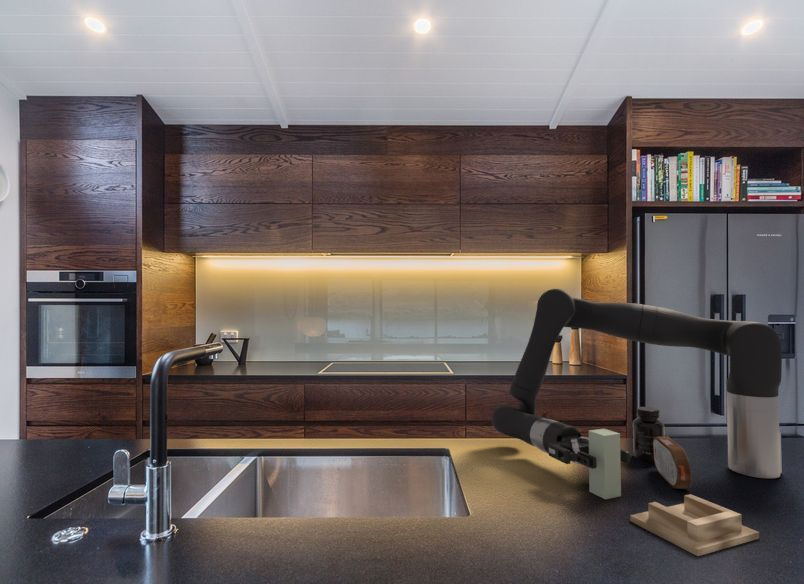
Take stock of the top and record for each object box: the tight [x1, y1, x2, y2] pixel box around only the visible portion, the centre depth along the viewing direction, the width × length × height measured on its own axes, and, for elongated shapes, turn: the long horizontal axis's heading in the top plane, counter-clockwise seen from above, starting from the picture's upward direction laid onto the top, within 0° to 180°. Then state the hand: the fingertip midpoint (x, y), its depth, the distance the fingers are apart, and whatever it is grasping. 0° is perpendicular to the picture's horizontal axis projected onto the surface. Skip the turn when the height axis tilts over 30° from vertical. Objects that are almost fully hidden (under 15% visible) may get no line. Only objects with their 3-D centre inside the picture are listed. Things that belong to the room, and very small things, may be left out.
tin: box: [653, 435, 693, 490], centre depth 98 cm, size 15×3×8 cm, turn 168°
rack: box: [629, 493, 760, 557], centre depth 76 cm, size 14×12×4 cm
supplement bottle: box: [632, 406, 666, 464], centre depth 112 cm, size 7×7×12 cm
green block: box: [588, 428, 622, 500], centre depth 91 cm, size 4×4×12 cm
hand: (612, 460), depth 89 cm, fingers open, 8 cm apart
